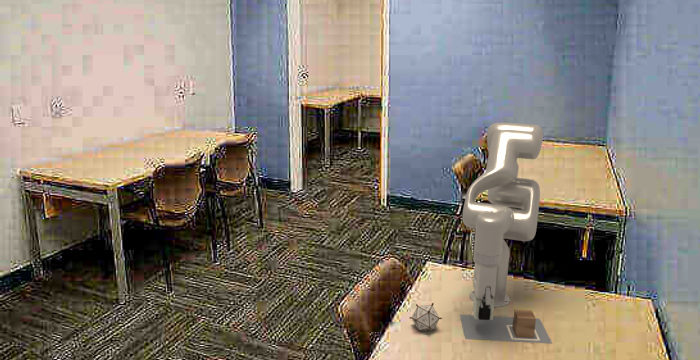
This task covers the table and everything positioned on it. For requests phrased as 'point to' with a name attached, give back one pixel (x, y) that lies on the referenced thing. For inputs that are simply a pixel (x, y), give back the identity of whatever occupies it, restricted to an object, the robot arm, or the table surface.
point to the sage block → (477, 303)
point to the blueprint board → (499, 330)
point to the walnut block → (524, 323)
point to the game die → (425, 317)
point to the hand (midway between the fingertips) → (482, 313)
